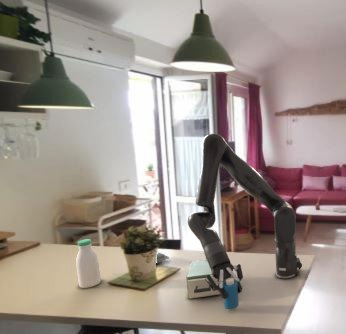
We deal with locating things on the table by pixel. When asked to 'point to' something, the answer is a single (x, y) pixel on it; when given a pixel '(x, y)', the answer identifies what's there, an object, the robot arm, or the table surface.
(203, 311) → the table surface
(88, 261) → the milk bottle
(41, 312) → the table surface
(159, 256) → the packaged food
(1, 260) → the table surface
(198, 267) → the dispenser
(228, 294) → the detergent bottle
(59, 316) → the table surface
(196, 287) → the drawer
